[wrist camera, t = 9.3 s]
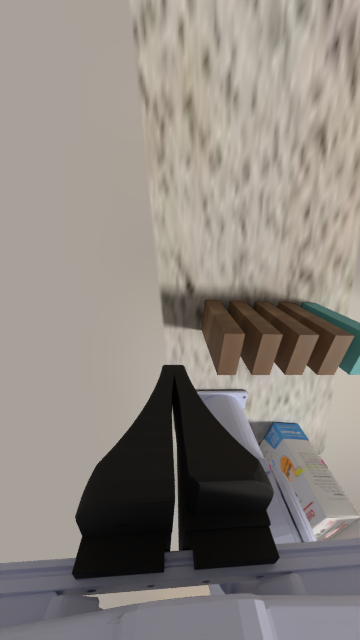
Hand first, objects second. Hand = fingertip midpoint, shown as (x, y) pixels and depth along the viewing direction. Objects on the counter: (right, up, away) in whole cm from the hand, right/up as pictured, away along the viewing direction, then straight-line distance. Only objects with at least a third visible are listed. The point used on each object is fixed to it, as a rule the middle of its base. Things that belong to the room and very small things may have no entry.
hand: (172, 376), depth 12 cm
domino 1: (+4, +4, +10) cm, 11 cm away
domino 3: (+10, +4, +10) cm, 15 cm away
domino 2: (+7, +4, +10) cm, 13 cm away
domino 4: (+13, +4, +10) cm, 17 cm away
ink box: (+18, -18, +21) cm, 33 cm away
